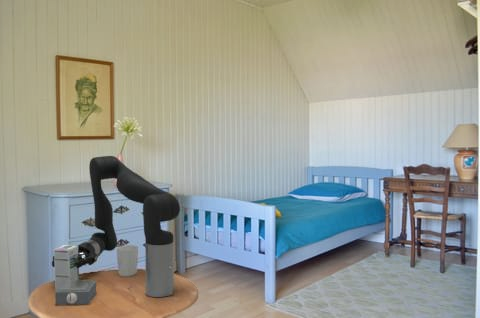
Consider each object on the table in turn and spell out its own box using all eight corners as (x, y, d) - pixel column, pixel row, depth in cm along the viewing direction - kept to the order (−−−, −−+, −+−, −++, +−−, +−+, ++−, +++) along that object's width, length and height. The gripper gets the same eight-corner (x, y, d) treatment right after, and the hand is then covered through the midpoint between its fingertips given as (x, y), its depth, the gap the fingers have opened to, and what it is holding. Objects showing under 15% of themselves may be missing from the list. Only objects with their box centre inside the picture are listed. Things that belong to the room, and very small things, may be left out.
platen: (92, 281, 146) (92, 279, 146) (86, 290, 138) (86, 288, 138) (67, 282, 145) (67, 279, 145) (59, 290, 137) (59, 288, 137)
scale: (96, 292, 147) (96, 281, 147) (88, 305, 137) (88, 292, 137) (65, 293, 146) (65, 281, 146) (54, 305, 136) (54, 292, 136)
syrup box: (70, 291, 148) (69, 249, 147) (54, 290, 149) (53, 248, 148) (79, 286, 154) (79, 245, 153) (64, 284, 155) (63, 244, 154)
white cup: (117, 271, 171) (117, 245, 170) (138, 269, 173) (138, 244, 172) (116, 277, 163) (116, 251, 162) (138, 276, 165) (138, 249, 164)
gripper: (68, 241, 166) (45, 253, 150) (104, 242, 165) (85, 254, 149) (68, 261, 167) (45, 274, 151) (104, 262, 165) (85, 276, 149)
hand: (65, 264), depth 150 cm, fingers open, 8 cm apart
